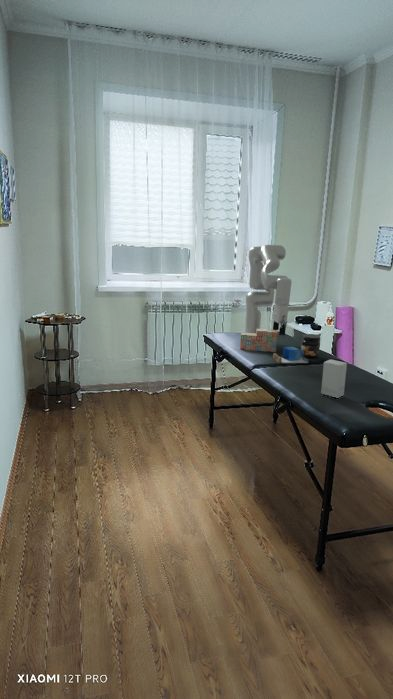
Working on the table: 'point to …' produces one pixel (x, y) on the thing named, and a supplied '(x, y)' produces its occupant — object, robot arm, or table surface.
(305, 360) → the mat
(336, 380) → the skincare box
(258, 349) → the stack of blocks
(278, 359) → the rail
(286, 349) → the perfume bottle
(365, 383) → the table surface
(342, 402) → the table surface
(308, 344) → the supplement container
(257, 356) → the table surface
